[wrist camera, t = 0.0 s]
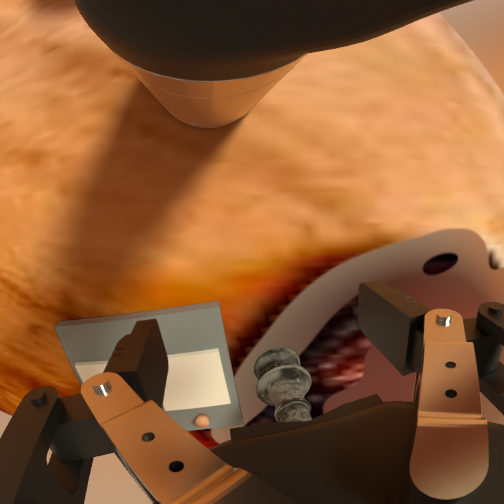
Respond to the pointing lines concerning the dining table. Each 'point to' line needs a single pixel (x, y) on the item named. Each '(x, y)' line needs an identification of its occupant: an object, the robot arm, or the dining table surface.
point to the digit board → (179, 358)
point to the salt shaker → (283, 384)
